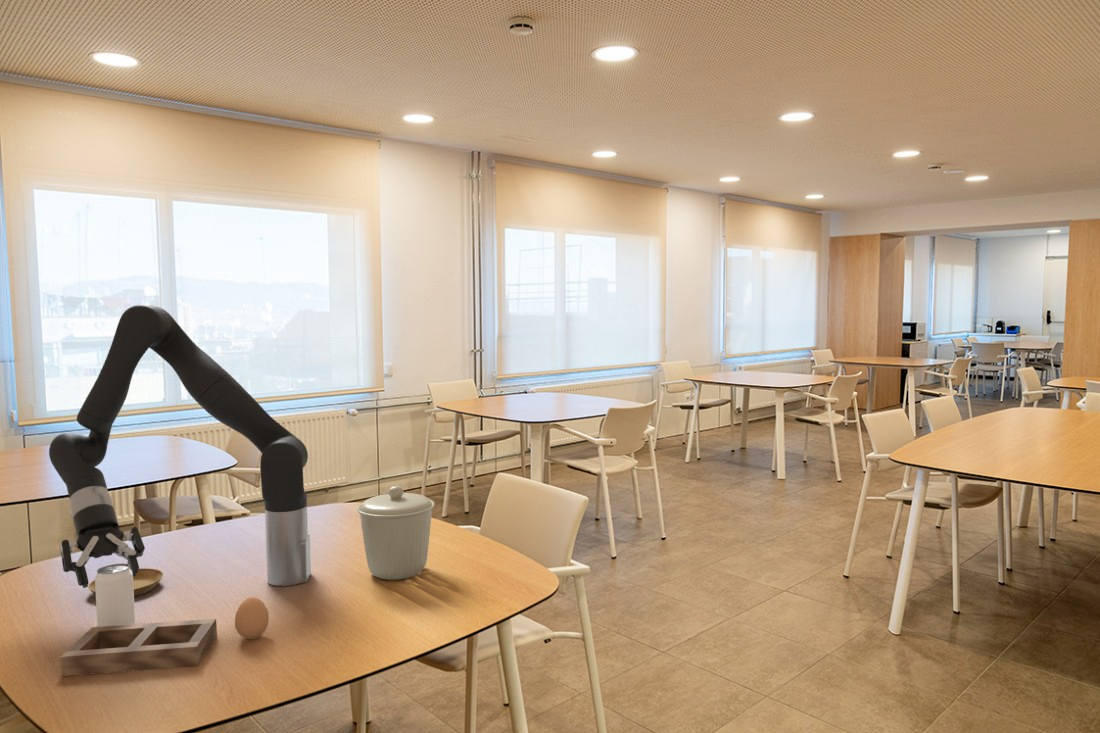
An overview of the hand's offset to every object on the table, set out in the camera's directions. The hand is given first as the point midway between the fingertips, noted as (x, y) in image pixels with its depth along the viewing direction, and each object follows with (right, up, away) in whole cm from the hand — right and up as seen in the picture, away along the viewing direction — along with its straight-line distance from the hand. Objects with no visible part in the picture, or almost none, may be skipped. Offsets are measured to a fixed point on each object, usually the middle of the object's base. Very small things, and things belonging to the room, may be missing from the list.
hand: (110, 580), depth 147 cm
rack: (+14, -10, -13) cm, 22 cm away
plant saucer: (-7, -8, +19) cm, 22 cm away
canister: (+52, -7, +28) cm, 59 cm away
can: (+2, -9, -1) cm, 9 cm away
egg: (+31, -9, -6) cm, 33 cm away
